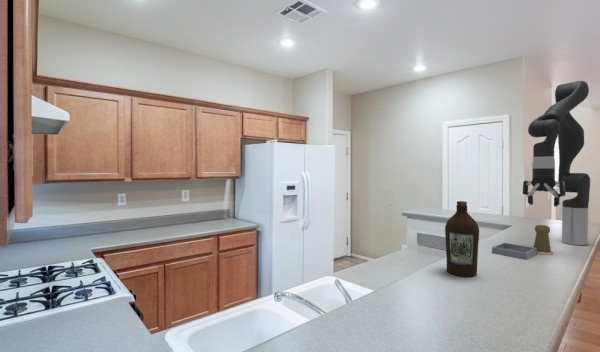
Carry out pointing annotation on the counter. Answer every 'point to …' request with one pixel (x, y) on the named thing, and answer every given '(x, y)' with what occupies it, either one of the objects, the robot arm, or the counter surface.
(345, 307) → the counter surface
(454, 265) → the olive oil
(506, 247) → the bin frame
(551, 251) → the salmon pink disc
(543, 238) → the cork
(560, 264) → the counter surface
